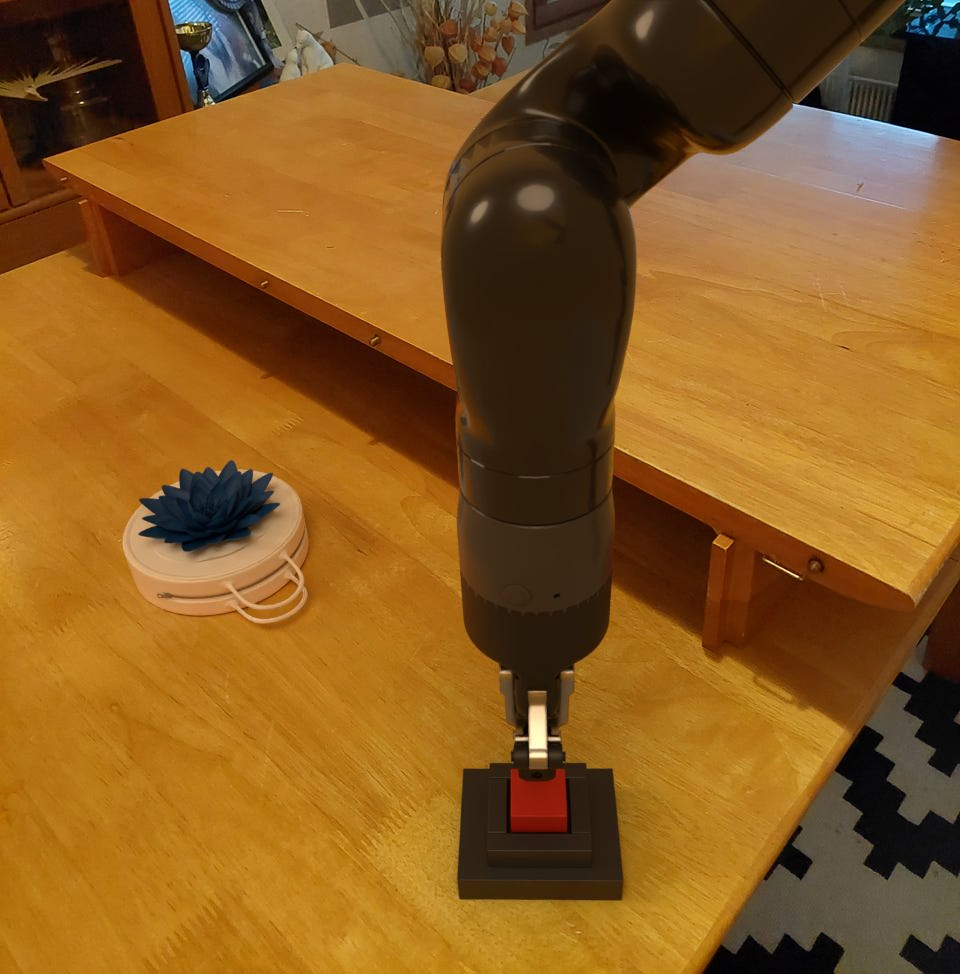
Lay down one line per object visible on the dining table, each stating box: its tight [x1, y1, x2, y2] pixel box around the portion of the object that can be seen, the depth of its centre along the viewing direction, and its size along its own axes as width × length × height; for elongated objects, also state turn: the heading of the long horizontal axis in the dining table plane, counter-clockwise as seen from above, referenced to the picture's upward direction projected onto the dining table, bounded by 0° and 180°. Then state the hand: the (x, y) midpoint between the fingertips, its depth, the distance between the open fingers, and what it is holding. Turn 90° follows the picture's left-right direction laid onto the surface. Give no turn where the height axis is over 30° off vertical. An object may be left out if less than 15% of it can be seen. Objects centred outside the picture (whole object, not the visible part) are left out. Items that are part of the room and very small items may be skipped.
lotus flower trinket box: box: [121, 459, 310, 625], centre depth 81 cm, size 7×16×20 cm
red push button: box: [456, 762, 625, 901], centre depth 59 cm, size 10×8×4 cm
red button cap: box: [511, 769, 567, 832], centre depth 57 cm, size 3×3×2 cm
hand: (536, 769), depth 56 cm, fingers closed
